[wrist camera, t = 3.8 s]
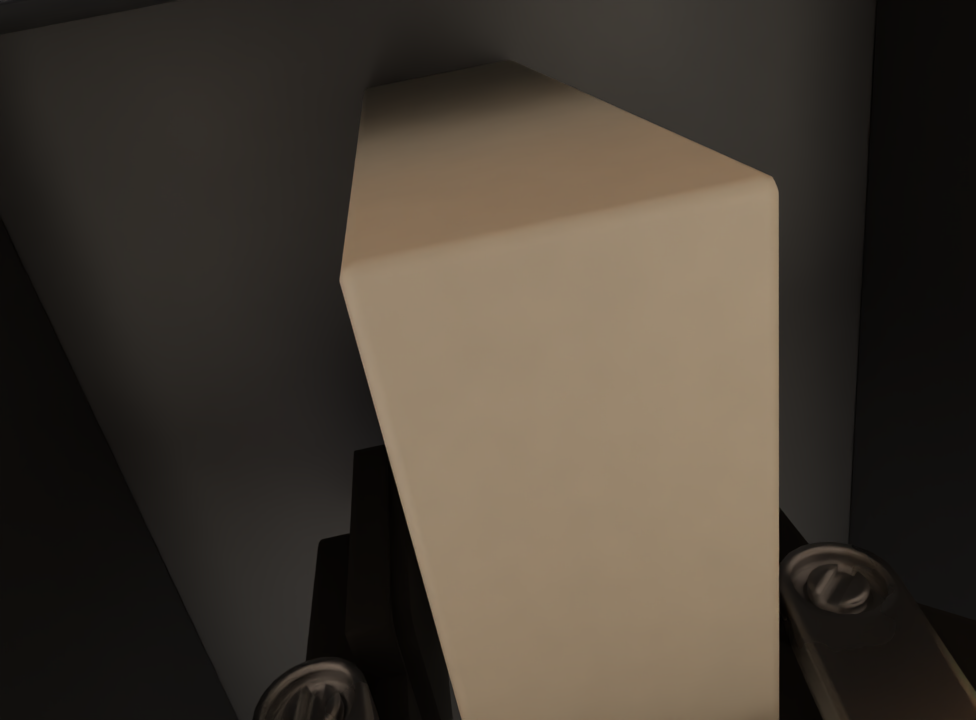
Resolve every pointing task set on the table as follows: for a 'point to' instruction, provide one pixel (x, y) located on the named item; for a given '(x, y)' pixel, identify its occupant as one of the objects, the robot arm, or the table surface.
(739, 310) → the board
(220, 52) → the bin
